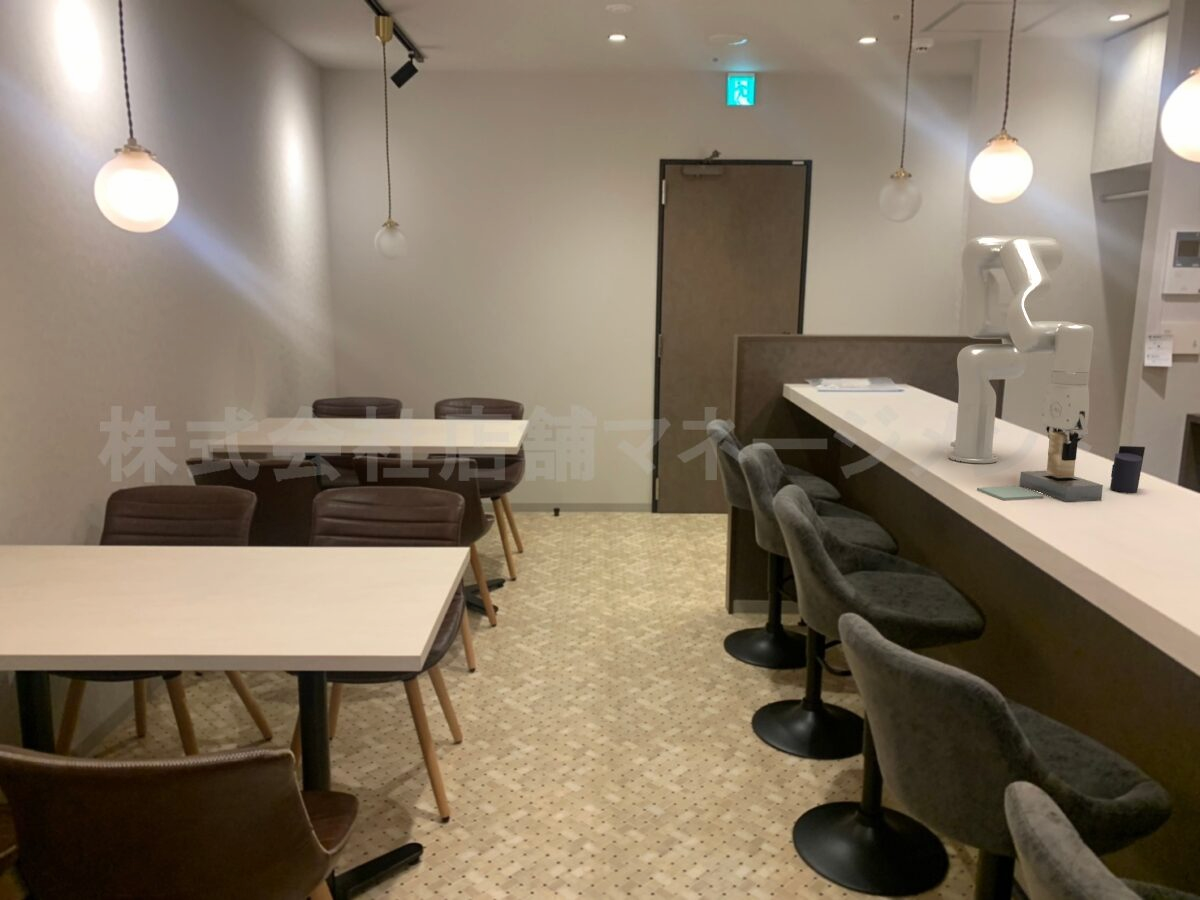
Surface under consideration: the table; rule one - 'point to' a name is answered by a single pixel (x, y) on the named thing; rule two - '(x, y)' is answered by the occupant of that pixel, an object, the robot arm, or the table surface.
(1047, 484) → the plate with square hole
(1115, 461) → the speaker
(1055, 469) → the peg
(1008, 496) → the pad
